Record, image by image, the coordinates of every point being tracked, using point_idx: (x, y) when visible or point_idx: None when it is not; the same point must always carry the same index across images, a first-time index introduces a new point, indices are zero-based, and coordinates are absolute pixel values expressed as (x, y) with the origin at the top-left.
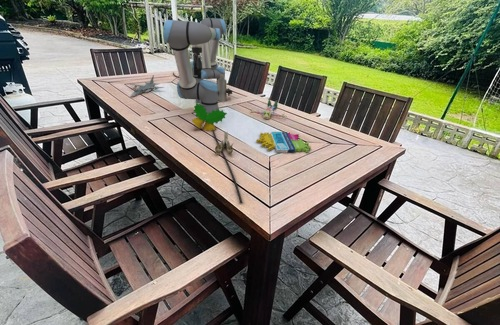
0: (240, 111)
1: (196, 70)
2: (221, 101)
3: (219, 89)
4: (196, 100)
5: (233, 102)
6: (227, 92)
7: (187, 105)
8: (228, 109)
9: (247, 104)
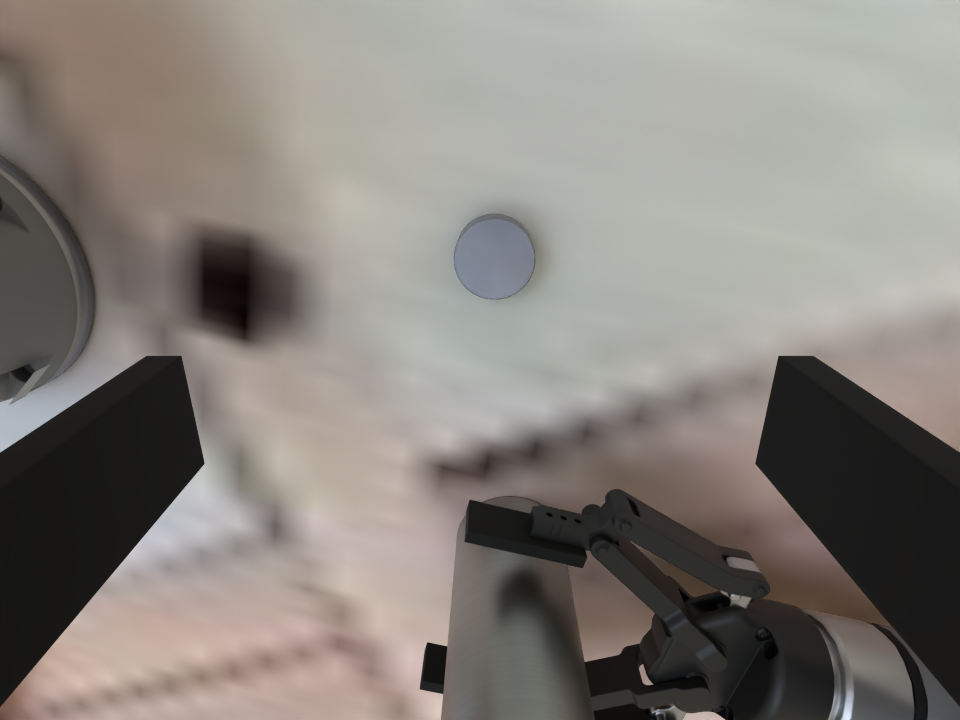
0: (108, 599)
1: (866, 542)
2: (459, 528)
3: (470, 628)
4: (474, 222)
5: (422, 628)
6: None
7: (364, 48)
8: (172, 516)
9: (336, 716)
